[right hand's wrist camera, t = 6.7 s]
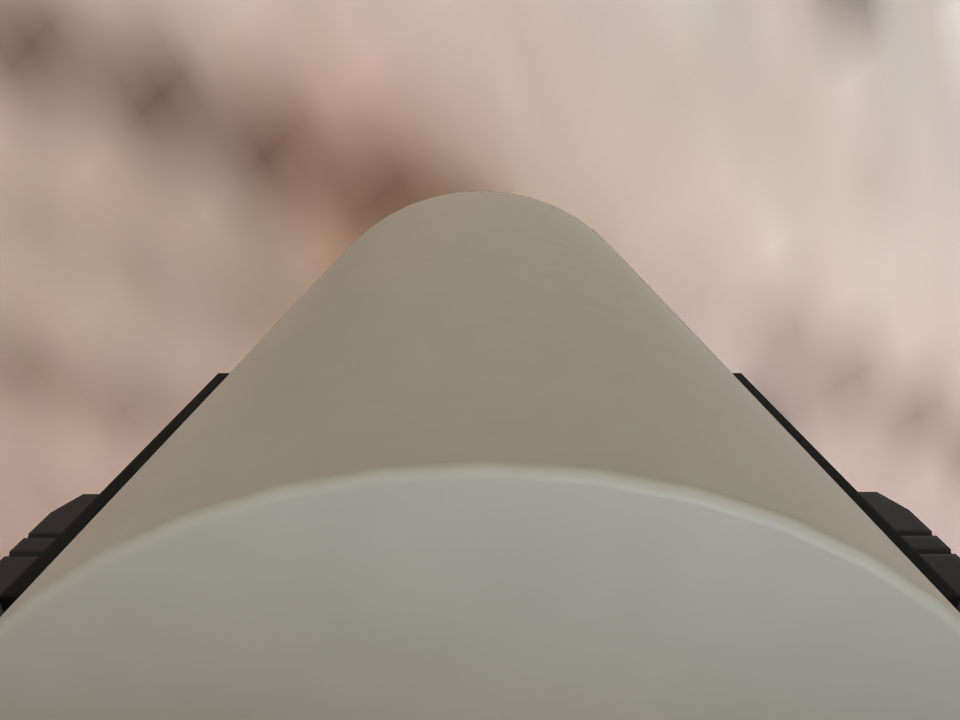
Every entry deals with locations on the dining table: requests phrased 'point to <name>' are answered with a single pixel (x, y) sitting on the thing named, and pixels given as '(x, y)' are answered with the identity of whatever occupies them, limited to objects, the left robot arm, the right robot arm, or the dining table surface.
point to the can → (480, 519)
